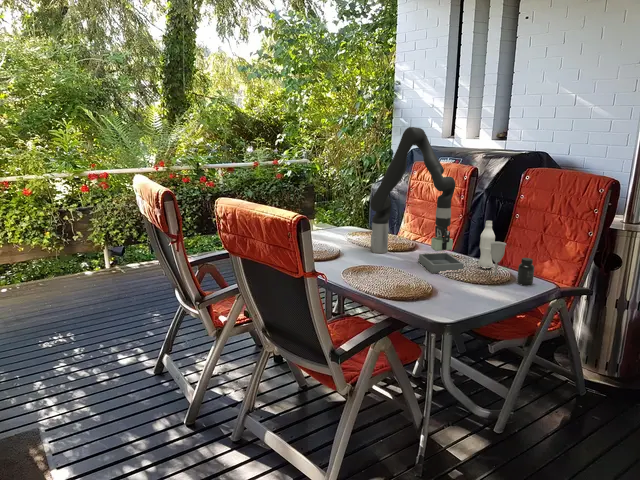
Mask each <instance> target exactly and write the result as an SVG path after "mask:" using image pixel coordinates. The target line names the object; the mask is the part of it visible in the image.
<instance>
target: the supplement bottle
mask: <svg viewBox="0 0 640 480" xmlns="http://www.w3.org/2000/svg"><path fill="white" fill-rule="evenodd" d="M533 261H534V260H533V258H529V257H522V258H521V263H519V264H518V269H517V279H516V283H517V282H518V283H519V284H518V283H517V284H518V285H520V284H522V285H521V286H524V285H530V286H533V284H534V283H533V282H534V274H535V265H534V264H533V263H534V262H533Z"/></svg>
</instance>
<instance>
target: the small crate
mask: <svg viewBox="0 0 640 480" xmlns="http://www.w3.org/2000/svg"><path fill="white" fill-rule="evenodd" d="M447 240H448V238H447ZM453 243H454V240H453V239H452V238H450V239H449V242H447V248H446V250H442V239H441V237H431V243H430V244H431V245H430V246H431V247H430V248H431V249H432V250H434V251H435V252H441V251H443V252H444V251H453Z"/></svg>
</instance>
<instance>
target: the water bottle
mask: <svg viewBox="0 0 640 480" xmlns="http://www.w3.org/2000/svg"><path fill="white" fill-rule="evenodd" d="M479 237H480V238H479V239H480V241H479V249H480V257H479V259H478V262H477V263H478V267H479V266H482V267H492V268H493V264H494V263H493V262H494V261H493V259H492V256H491V253H490V252H491V244H490V242H496V235H495V232H494V230H493V220H486V221H485V227H484V229H483V231H482V232H481V234H480V236H479Z"/></svg>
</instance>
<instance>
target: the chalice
mask: <svg viewBox="0 0 640 480" xmlns="http://www.w3.org/2000/svg"><path fill="white" fill-rule="evenodd" d="M490 244H491V252H490V253H491V256H492V262H494V263H495V264H494V268H493V270H494V271H493V272H494V273H492V274H491V275H494V276H495V275H496V276H497V274H498V267H499V265H498V263H500V262H501V260H502V259H503V257H504V256H505V250H506V246H507V243H506V242H502V241H495V242H490Z"/></svg>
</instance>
